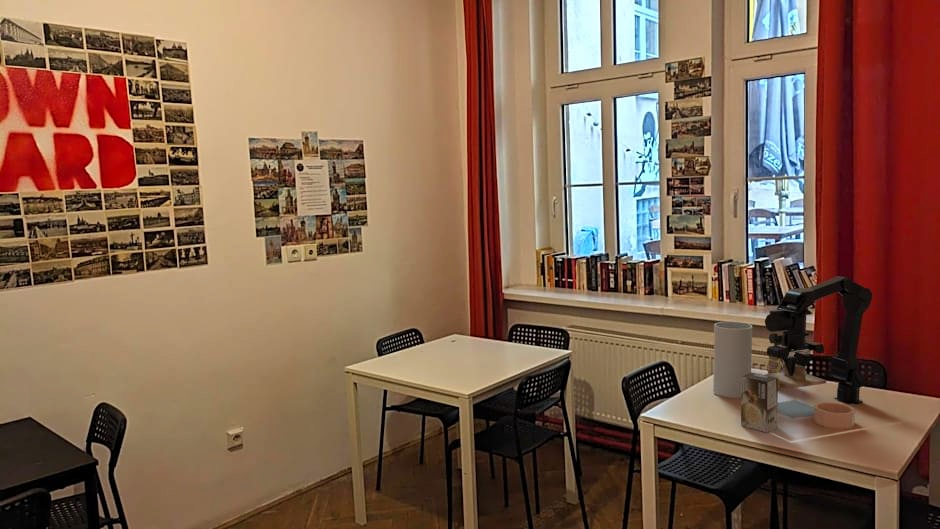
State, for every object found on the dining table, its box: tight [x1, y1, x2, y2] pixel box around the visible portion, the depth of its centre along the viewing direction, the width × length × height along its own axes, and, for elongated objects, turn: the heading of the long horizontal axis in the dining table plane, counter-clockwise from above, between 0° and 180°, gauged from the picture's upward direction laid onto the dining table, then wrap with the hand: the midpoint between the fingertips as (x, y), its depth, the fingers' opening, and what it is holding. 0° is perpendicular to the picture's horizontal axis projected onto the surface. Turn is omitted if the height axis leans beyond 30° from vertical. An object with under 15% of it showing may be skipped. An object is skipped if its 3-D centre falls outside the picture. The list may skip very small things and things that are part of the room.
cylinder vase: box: [712, 321, 753, 399], centre depth 251 cm, size 12×12×25 cm
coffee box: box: [740, 372, 779, 433], centre depth 219 cm, size 9×6×16 cm
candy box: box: [767, 345, 786, 389], centre depth 259 cm, size 9×4×15 cm, turn 134°
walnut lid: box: [764, 363, 827, 389], centre depth 232 cm, size 13×13×5 cm
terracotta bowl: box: [813, 401, 856, 430], centre depth 221 cm, size 11×11×5 cm
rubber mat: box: [777, 399, 814, 419], centre depth 234 cm, size 14×14×1 cm
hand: (794, 375), depth 232 cm, fingers closed on walnut lid, 3 cm apart
